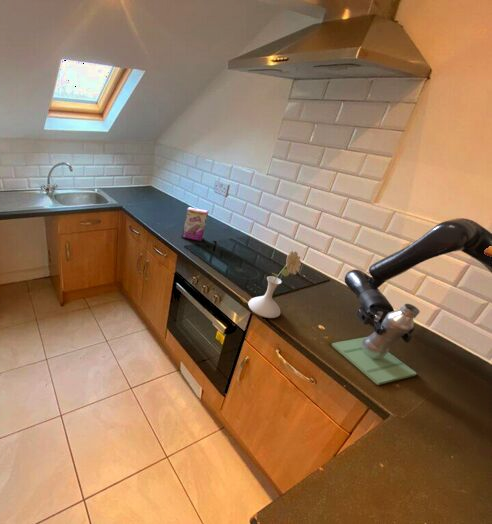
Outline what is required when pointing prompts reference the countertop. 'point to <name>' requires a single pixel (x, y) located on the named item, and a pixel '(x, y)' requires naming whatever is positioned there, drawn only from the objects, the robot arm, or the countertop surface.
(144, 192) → the countertop surface
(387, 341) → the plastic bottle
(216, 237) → the countertop surface
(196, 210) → the pink beige food bag
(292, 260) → the flower in vase
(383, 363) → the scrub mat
